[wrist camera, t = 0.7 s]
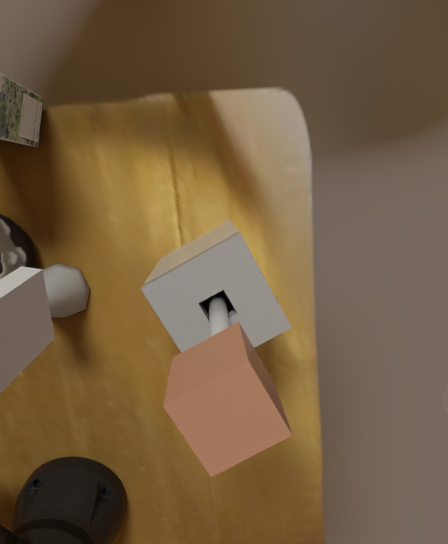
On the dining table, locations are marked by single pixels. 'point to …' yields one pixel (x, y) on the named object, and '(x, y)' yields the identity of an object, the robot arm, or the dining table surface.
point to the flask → (65, 290)
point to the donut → (14, 247)
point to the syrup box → (19, 113)
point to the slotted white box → (213, 289)
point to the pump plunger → (224, 396)
